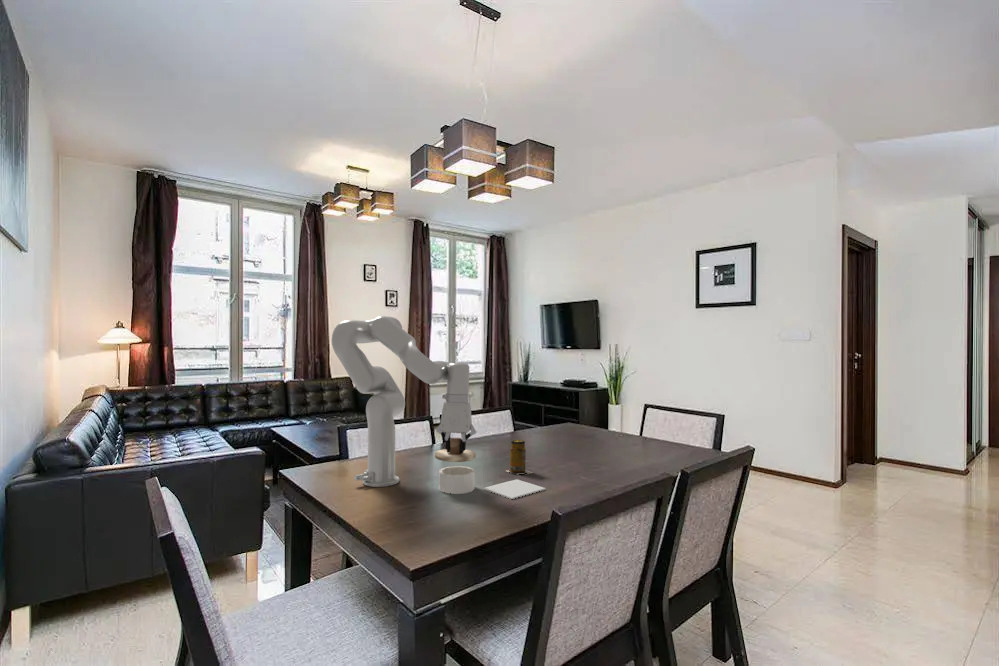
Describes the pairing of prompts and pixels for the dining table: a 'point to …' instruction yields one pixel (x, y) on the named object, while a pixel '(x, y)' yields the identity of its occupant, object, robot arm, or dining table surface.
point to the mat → (514, 489)
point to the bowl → (456, 480)
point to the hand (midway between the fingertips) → (455, 451)
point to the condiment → (517, 457)
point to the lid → (455, 453)
